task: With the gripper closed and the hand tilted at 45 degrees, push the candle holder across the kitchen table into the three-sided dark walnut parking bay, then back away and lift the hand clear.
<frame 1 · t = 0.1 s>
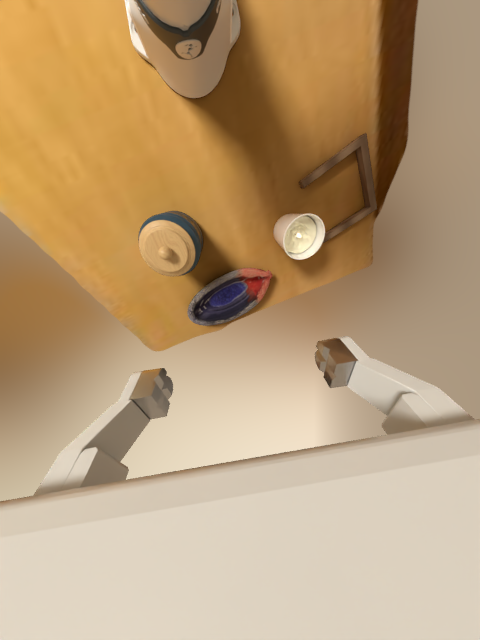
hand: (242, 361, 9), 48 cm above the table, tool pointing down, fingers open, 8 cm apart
parking bay: (334, 197, 47), on the table
dish: (228, 293, 60), on the table
canister: (179, 237, 49), on the table
candle holder: (287, 230, 51), on the table
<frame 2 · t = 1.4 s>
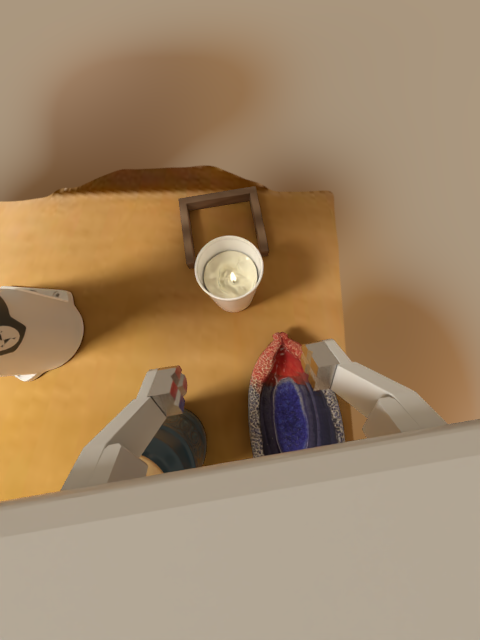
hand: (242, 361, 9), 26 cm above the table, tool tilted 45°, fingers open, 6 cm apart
parking bay: (223, 233, 39), on the table
dish: (289, 415, 33), on the table
canister: (173, 441, 33), on the table
candle holder: (233, 293, 37), on the table
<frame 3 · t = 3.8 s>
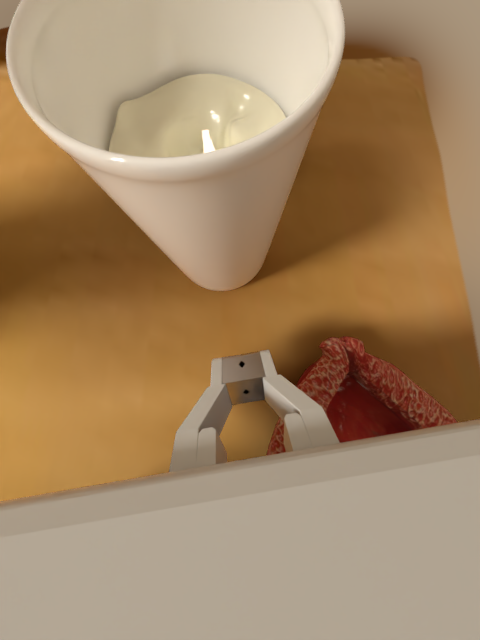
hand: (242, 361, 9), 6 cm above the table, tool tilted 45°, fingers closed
dish: (358, 542, 13), on the table
candle holder: (222, 251, 17), on the table
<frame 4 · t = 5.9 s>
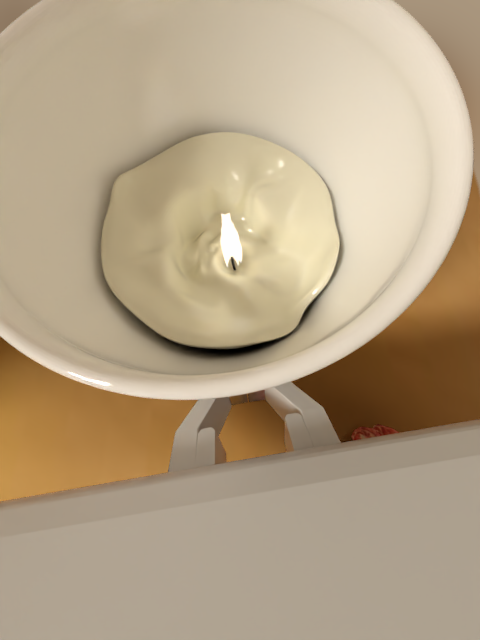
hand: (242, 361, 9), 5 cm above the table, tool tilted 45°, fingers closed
candle holder: (233, 300, 15), on the table, touching gripper
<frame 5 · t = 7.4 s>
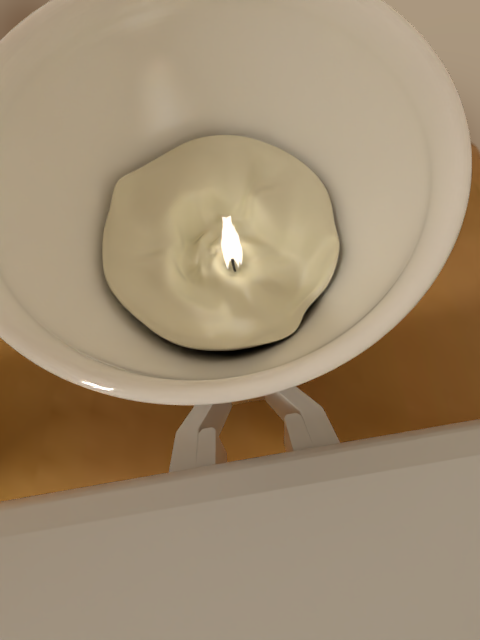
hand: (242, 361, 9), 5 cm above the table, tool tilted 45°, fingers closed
candle holder: (233, 301, 15), on the table, touching gripper
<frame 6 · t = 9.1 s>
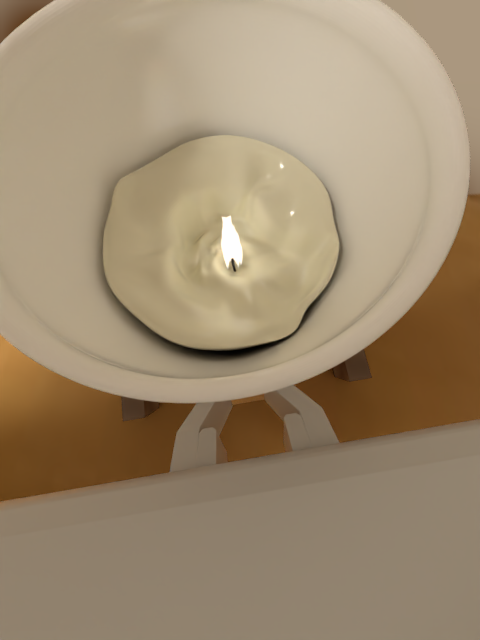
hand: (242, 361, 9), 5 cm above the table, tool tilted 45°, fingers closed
parking bay: (232, 306, 15), on the table
candle holder: (233, 300, 15), on the table, touching gripper
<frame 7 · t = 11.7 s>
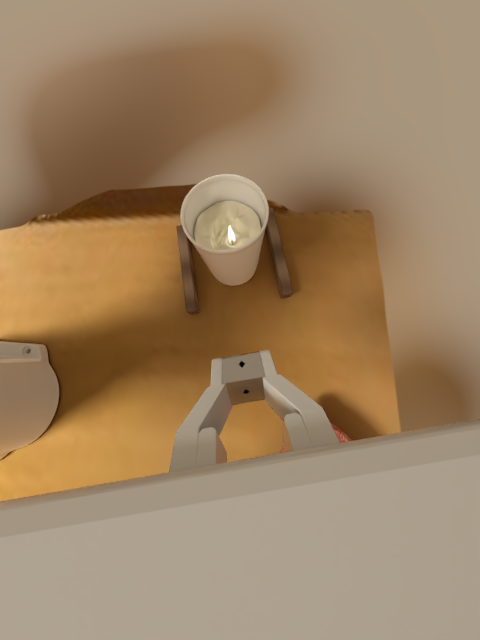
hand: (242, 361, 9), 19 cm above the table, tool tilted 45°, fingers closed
parking bay: (233, 267, 31), on the table
candle holder: (233, 264, 31), on the table
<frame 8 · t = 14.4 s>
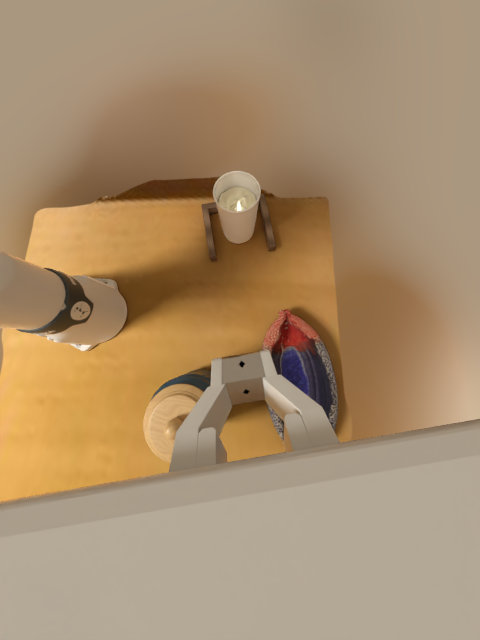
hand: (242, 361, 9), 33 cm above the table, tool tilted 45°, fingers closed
parking bay: (238, 232, 48), on the table
dish: (293, 376, 42), on the table
canister: (202, 397, 41), on the table
candle holder: (238, 230, 48), on the table
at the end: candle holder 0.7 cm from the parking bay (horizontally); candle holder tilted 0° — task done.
